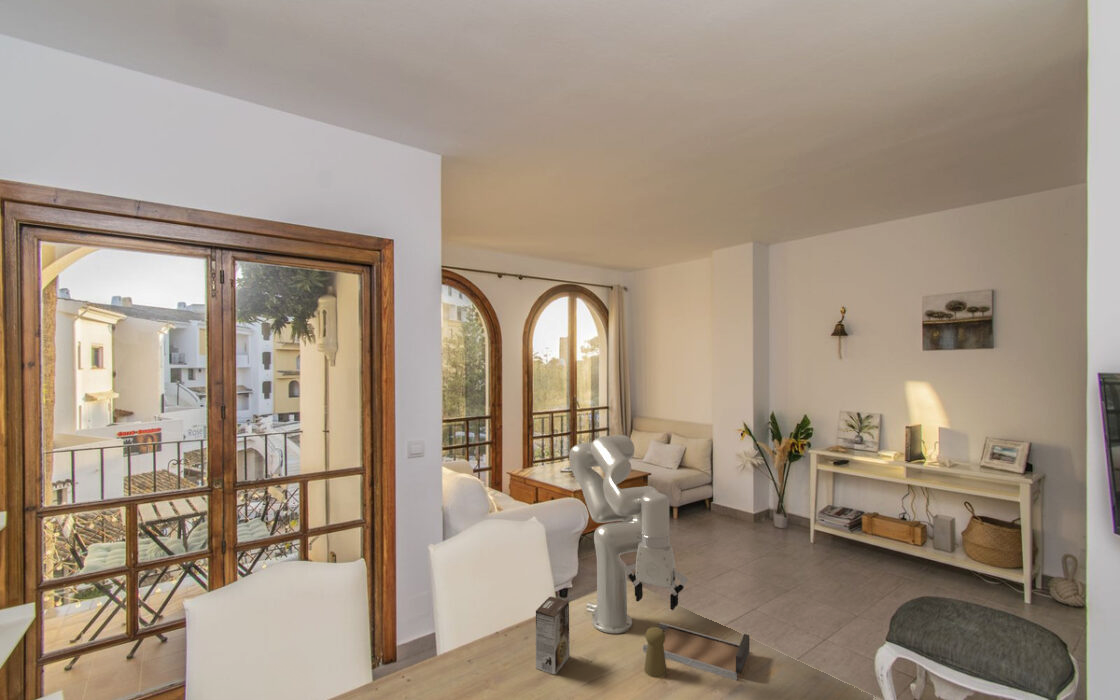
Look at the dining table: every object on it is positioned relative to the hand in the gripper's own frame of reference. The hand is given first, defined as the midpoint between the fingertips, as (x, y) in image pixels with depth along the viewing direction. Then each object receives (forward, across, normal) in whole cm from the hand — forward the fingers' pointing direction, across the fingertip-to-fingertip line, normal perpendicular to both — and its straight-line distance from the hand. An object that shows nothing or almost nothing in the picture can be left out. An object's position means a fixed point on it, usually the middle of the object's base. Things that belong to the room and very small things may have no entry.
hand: (656, 603), depth 137 cm
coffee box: (+18, -26, -11) cm, 34 cm away
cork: (+19, 0, 0) cm, 19 cm away
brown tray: (+18, +8, +14) cm, 25 cm away
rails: (+18, +6, +14) cm, 24 cm away
